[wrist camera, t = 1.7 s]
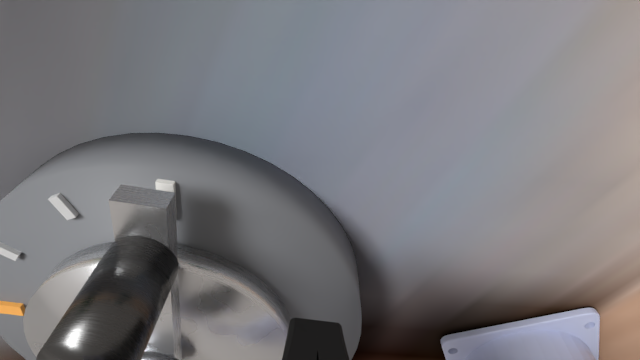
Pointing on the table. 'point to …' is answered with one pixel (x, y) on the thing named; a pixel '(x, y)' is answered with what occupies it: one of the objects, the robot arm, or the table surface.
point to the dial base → (180, 223)
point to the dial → (153, 296)
